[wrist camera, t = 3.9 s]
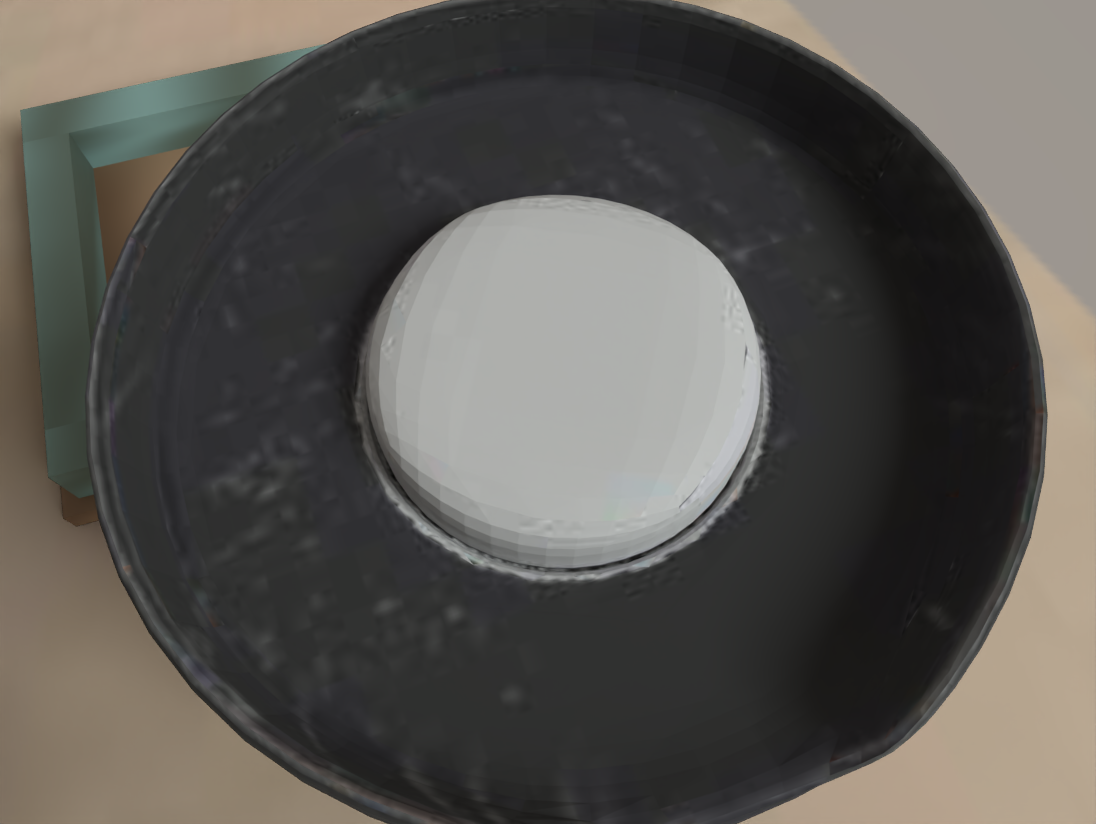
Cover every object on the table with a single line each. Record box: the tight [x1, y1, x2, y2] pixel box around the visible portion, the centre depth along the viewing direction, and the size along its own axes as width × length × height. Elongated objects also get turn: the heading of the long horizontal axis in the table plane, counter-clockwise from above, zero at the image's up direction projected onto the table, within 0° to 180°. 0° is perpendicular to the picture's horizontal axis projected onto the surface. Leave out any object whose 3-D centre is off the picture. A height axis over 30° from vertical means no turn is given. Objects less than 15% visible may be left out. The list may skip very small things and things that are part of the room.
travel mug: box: [85, 0, 1048, 824], centre depth 16 cm, size 8×8×20 cm
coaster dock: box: [20, 44, 325, 526], centre depth 30 cm, size 15×15×3 cm
